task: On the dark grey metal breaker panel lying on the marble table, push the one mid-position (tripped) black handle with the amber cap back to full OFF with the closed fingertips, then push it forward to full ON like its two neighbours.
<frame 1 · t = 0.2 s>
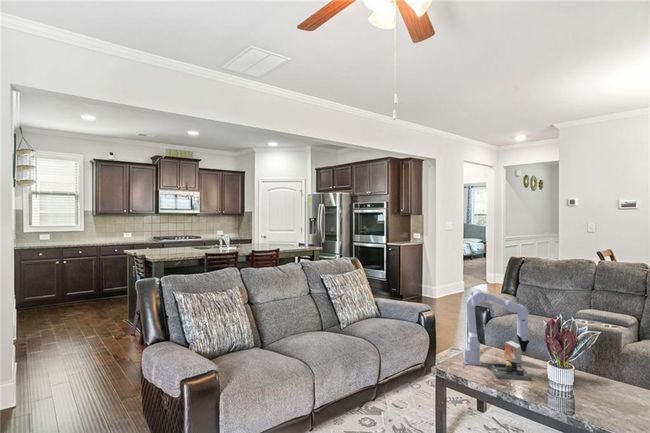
hand: (523, 349, 220), 10 cm above the table, fingers open, 7 cm apart
tripped breaker: (508, 367, 212), point 3 cm above the table, slide at 4.0 cm
small box: (512, 360, 229), on the table, touching gripper
breaker panel: (508, 372, 212), on the table
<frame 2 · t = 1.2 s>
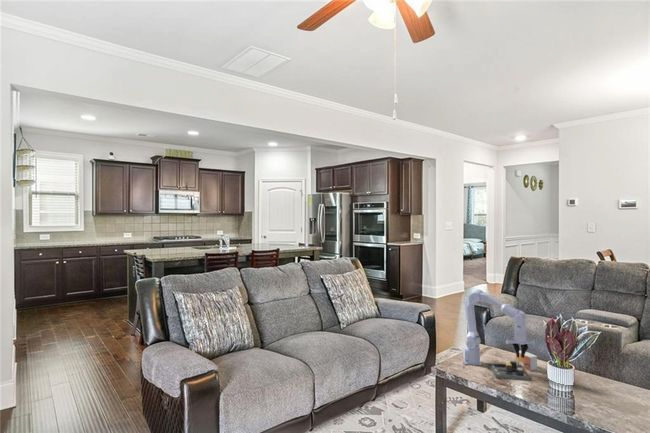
hand: (520, 357, 211), 9 cm above the table, fingers closed
small box: (518, 356, 225), point 4 cm above the table
everything else where it was.
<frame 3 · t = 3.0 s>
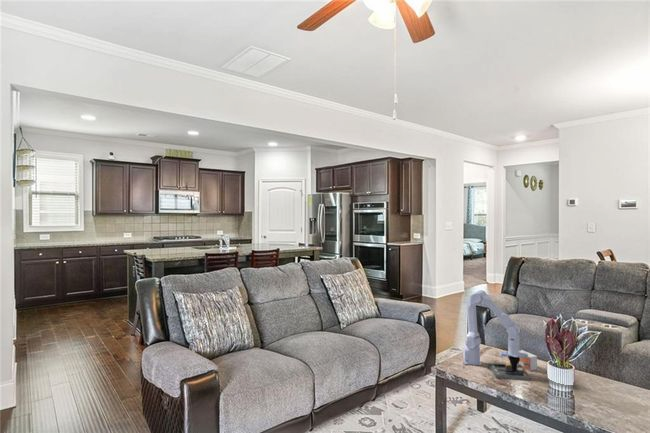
hand: (513, 369, 212), 2 cm above the table, fingers closed
tripped breaker: (508, 367, 212), point 3 cm above the table, slide at 3.8 cm, touching gripper
everything else where it was.
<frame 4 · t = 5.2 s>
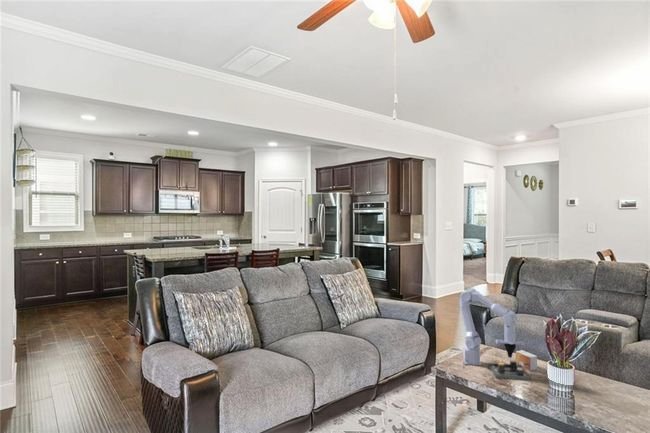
hand: (509, 356, 212), 9 cm above the table, fingers closed
tripped breaker: (501, 366, 213), point 3 cm above the table, slide at 0.0 cm
everything else where it was.
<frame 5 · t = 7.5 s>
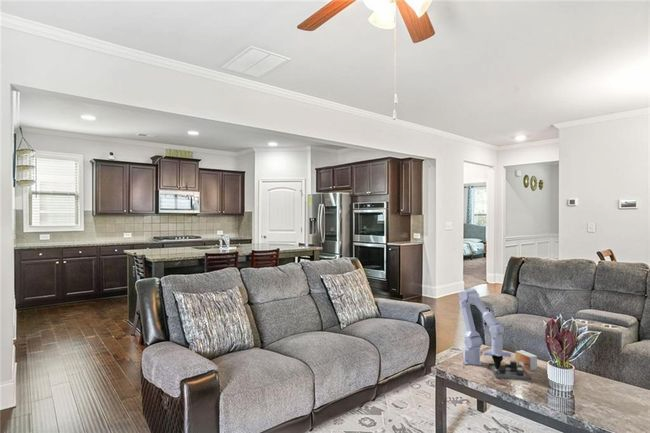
hand: (497, 368, 213), 2 cm above the table, fingers closed
tripped breaker: (502, 366, 213), point 3 cm above the table, slide at 0.5 cm, touching gripper
everything else where it was.
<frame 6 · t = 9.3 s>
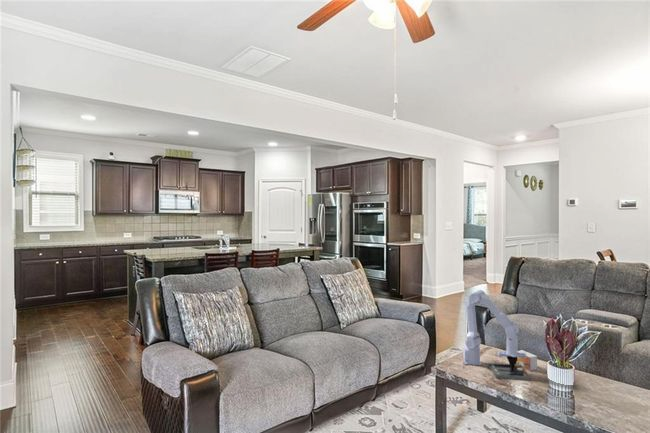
hand: (511, 369, 212), 2 cm above the table, fingers closed
tripped breaker: (516, 367, 211), point 3 cm above the table, slide at 8.1 cm, touching gripper
everything else where it was.
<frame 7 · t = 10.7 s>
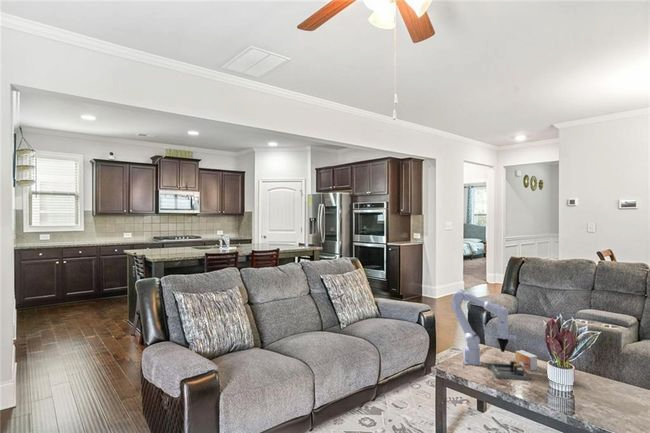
hand: (502, 351, 219), 10 cm above the table, fingers closed
tripped breaker: (516, 367, 211), point 3 cm above the table, slide at 8.0 cm
everything else where it was.
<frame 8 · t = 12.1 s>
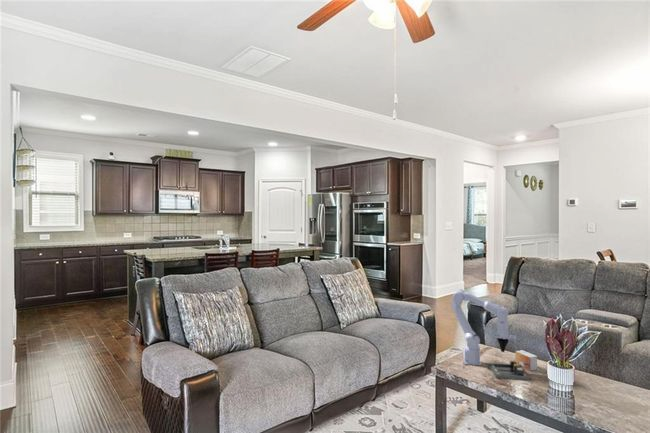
hand: (502, 351, 219), 10 cm above the table, fingers closed
nothing on the table moved.
at the end: tripped breaker slide at 8.0 cm; tripped breaker touching nothing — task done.
